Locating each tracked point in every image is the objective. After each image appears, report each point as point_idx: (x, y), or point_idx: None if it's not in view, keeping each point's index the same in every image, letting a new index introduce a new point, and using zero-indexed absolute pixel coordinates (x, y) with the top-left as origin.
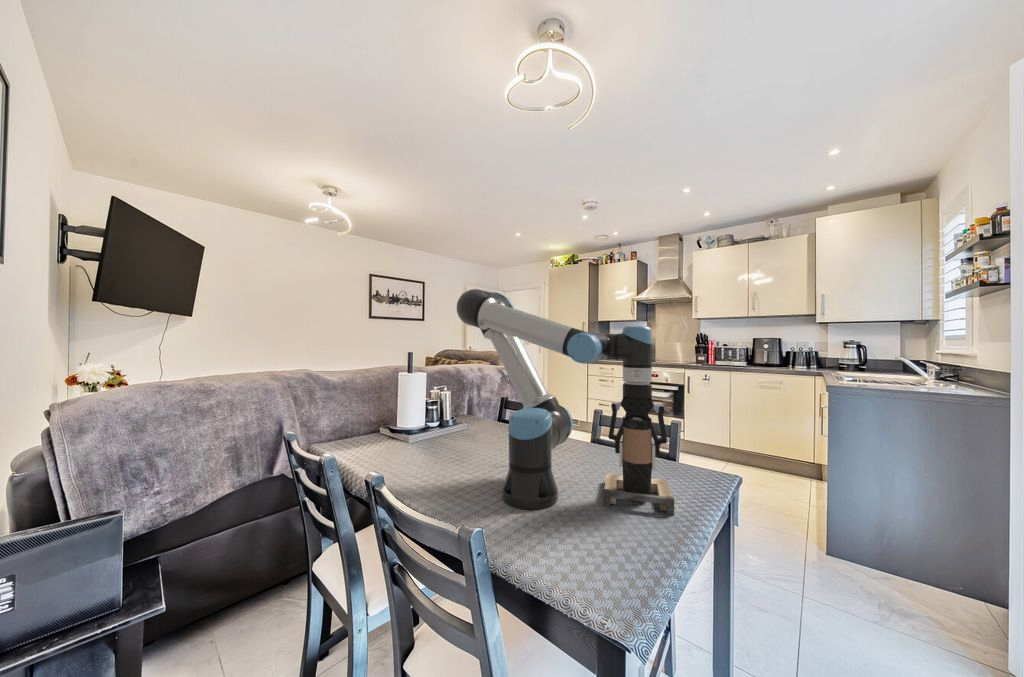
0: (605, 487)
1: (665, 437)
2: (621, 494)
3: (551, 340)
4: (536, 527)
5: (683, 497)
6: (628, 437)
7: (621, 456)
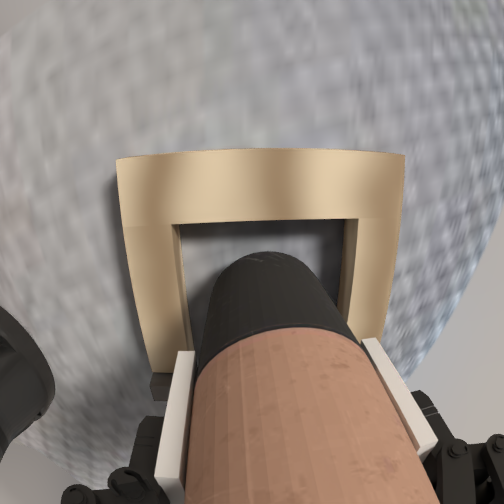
0: (143, 326)
1: (483, 493)
2: None
3: None
4: (84, 450)
5: (423, 222)
6: None
7: None
